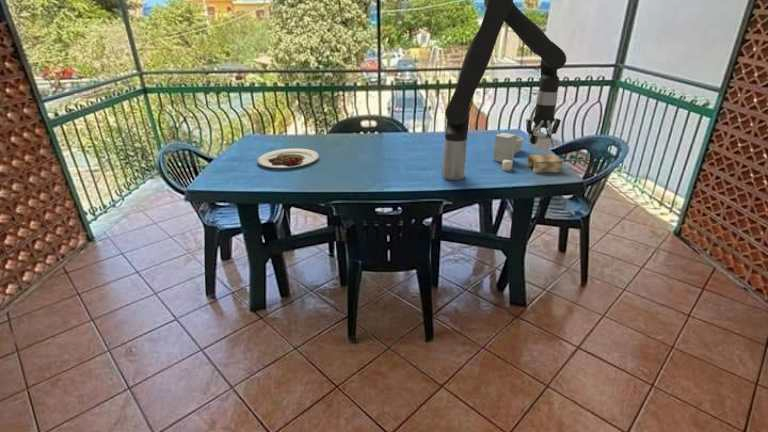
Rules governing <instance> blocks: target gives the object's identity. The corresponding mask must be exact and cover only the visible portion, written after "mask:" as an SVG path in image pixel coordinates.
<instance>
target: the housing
mask: <svg viewBox="0 0 768 432" xmlns="http://www.w3.org/2000/svg"><path fill="white" fill-rule="evenodd" d="M546 134H547V133H545V132H543V131H537V133H536V135H535V143H534V144H531V142H530V139H529V140H528V142H529V144H531V145H532V146H533V147H534V148H535V149H536V150H550V147H551V143H552V142H551V141H552V138H550V137H548V136H547V135H546ZM530 137H531V134H529V138H530Z"/></svg>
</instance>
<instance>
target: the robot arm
mask: <svg viewBox="0 0 768 432" xmlns="http://www.w3.org/2000/svg"><path fill="white" fill-rule="evenodd" d="M483 1H484V2H483V3H484V7H485V12H484V15H483V19H482V20H481V24H480V27H479V29H477V32H476V34H474V37H473V38H472V40H471V42H470V44H469V45H468V46H469V47H468V48H467V50H466V54H465V56H464V59H463V62H462V66H461V68H460V72H459V75H458V80H457V83H456V88H455V89H454V92H453V94H452V96H451V98H450V100H449V102H448V105H447V106H446V108H445V113H444V114H445V118H446V127H445V133H444V151H443V154H442V171H441V173H442V174H441V175H442V177H443V179H444V180H449V181H460V180H462V179H464V178H465V169H466V157H467V144H468V143H467V142H468V133H469V125H470V124H469V122H470V113H471V112H470V107H471V102H472V100H473V97H474V94H475V92H476V90H477V88H478V86H479V84H480V83H481V81H482V79H483V77H484V75H485V72H486V70H487V68H488V65H489V64H490V63H489V62H490V60H491V58H492V54H493V51H494V49H495V46H496V43H497V41H498V37H499V34H500V31H501V29H502V27H503V25H504V23H505V24H506V25H507V26H508V28H510V29H511V30H512V31H513V33H515V35H516V36H517V37H518V38H519V39H520V40H521V42H523V43H524V44H525V45H526V47H527V48H528V49H529V50H530V51H531V52H532V53H533V54H535V55H537V56H538V57H540V58H541V59H540V82H539V88H538V93H537V97H536V102H535V103H536V104H535V110H534V116H533V118H526V120H525V125H526V133H528V134H529V135H530V134H531V137H530V136H529V140H530V142H531V143H530V142H529V143H530V144H531V145H532V144H534V143H535V135H536V133H537V132H539V130H540V129H543V128H544V129H545V131H546V133H545V134H546V135H547V136H548V137H550V138H551V137H552V135H553V134H555V135H556V134H557V131H558V129H559V128H560V124H561V119H560V118H555V112H556V106H557V102H558V91H559V88H560V87H559V86H560V77H559V76H558V70H560V69H562V68H563V67H565V64H566V63H567V55H566V53H565V52H564V50H563V49H562V48H560V46H558V45H557V44H556V43H555V42H553V41H552V40H550V38H549V37H548V36H547V35H546V34H545V32H544V31H543V30H542V29H541V28H540V27H539V26H538V25H537V24H536V23H535V22H533V21H532V20H531V19H530V18H529V17H527V16H526V14H524V13H523V12H522V11H521V10H520V9H519V7H518V6H517V5H516V4H515V2H514V0H483ZM533 123H534V125H533ZM552 123H553V126H552ZM532 125H533V127H532ZM551 126H552V127H551ZM551 139H552V138H551Z"/></svg>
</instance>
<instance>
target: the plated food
mask: <svg viewBox="0 0 768 432" xmlns="http://www.w3.org/2000/svg"><path fill="white" fill-rule="evenodd" d="M318 159H319V153H318V152H317V151H315V150H312V149H307V148H283V149H277V150H272V151H269V152H266V153H264V154H262V155H260V156H259V157H258V158H257V160H256V161H257V163H258V164H259V165H261V167H266V168H272V169H273V168H274V169H291V168H292V169H294V168H297V167H303V166H306V165H309V164H312V163H315V162H316V161H317V160H318Z"/></svg>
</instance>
